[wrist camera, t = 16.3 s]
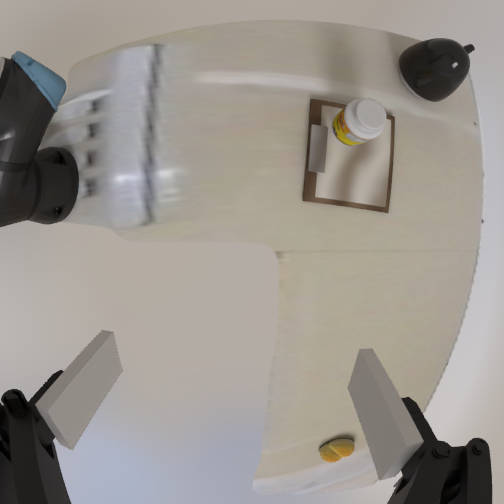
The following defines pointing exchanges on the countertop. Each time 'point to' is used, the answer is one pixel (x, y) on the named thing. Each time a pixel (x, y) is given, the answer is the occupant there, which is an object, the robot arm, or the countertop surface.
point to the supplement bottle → (359, 121)
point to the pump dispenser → (434, 68)
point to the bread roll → (336, 449)
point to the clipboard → (347, 164)
